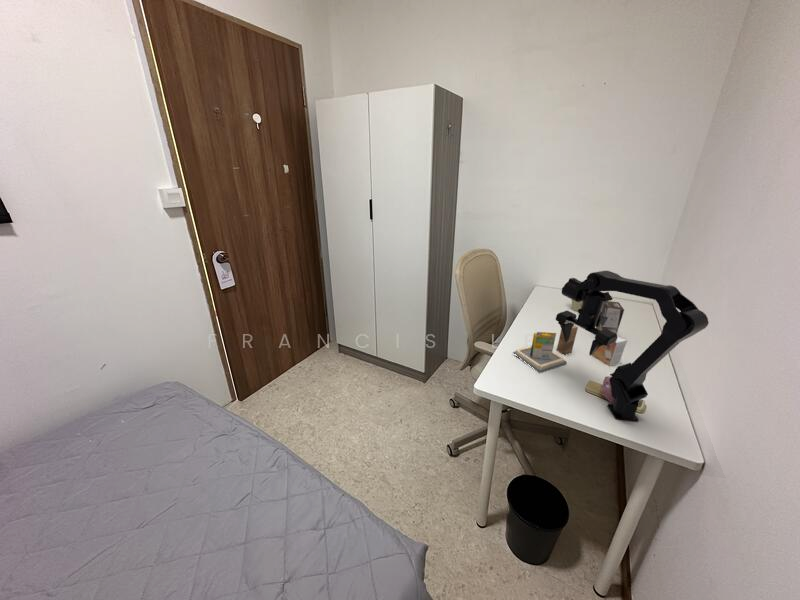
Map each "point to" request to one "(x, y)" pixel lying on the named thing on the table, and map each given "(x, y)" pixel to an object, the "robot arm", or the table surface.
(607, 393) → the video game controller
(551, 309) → the table surface
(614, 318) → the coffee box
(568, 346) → the walnut column
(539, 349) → the crayon box
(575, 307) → the mug
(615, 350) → the small box
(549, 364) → the baseplate
